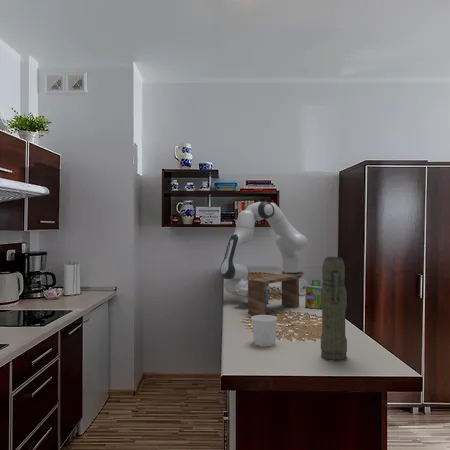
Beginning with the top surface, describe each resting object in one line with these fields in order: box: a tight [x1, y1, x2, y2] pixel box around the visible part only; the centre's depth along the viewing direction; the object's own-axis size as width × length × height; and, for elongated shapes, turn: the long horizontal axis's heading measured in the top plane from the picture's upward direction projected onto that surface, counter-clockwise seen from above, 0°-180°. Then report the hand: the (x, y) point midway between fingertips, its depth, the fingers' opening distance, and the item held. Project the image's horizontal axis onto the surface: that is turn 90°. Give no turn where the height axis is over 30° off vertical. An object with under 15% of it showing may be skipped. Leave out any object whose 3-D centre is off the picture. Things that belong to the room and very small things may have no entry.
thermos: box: [320, 256, 348, 362], centre depth 137 cm, size 9×12×35 cm
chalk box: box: [304, 279, 322, 310], centre depth 214 cm, size 9×9×15 cm
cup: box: [250, 314, 278, 347], centre depth 153 cm, size 10×10×10 cm
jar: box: [266, 284, 270, 306], centre depth 212 cm, size 5×5×12 cm
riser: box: [247, 273, 300, 316], centre depth 207 cm, size 30×10×18 cm, turn 133°
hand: (265, 291), depth 211 cm, fingers closed on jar, 5 cm apart
